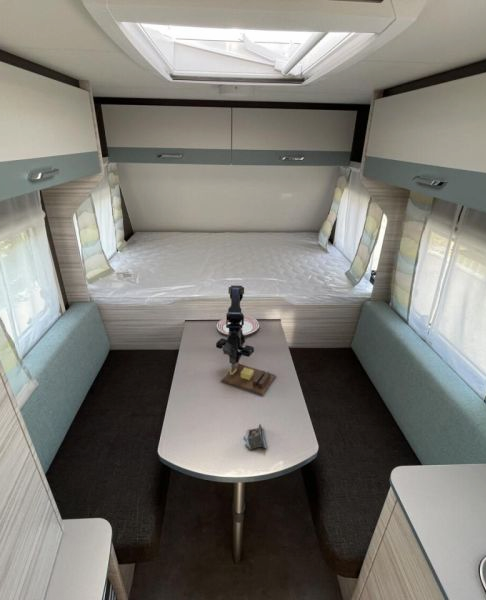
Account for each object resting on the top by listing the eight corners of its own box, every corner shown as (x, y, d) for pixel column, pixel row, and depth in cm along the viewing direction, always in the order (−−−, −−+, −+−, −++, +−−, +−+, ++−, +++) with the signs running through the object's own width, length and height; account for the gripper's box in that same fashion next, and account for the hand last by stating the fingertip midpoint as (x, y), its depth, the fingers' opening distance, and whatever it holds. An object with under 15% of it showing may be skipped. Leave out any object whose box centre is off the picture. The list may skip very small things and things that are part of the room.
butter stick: (240, 377, 163) (240, 372, 162) (244, 372, 167) (244, 367, 165) (249, 380, 161) (249, 375, 159) (253, 375, 164) (253, 370, 163)
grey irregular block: (244, 427, 135) (240, 428, 124) (260, 423, 135) (258, 423, 124) (250, 452, 131) (247, 454, 120) (267, 447, 131) (265, 449, 120)
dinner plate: (219, 341, 198) (218, 336, 197) (215, 320, 223) (215, 316, 221) (263, 337, 202) (263, 332, 201) (254, 318, 227) (254, 313, 225)
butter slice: (229, 373, 165) (229, 368, 164) (234, 369, 169) (234, 364, 168) (232, 374, 165) (232, 369, 164) (236, 370, 168) (236, 364, 167)
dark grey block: (228, 372, 163) (228, 358, 160) (236, 364, 170) (236, 351, 166) (233, 374, 162) (233, 360, 159) (241, 365, 168) (241, 352, 165)
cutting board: (221, 381, 162) (221, 375, 160) (237, 365, 175) (237, 358, 173) (262, 395, 153) (262, 388, 151) (275, 377, 166) (275, 370, 164)
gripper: (209, 337, 155) (210, 364, 161) (244, 347, 147) (243, 375, 153) (221, 327, 164) (222, 353, 170) (254, 336, 156) (254, 363, 162)
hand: (234, 361), depth 164 cm, fingers closed on dark grey block, 3 cm apart
